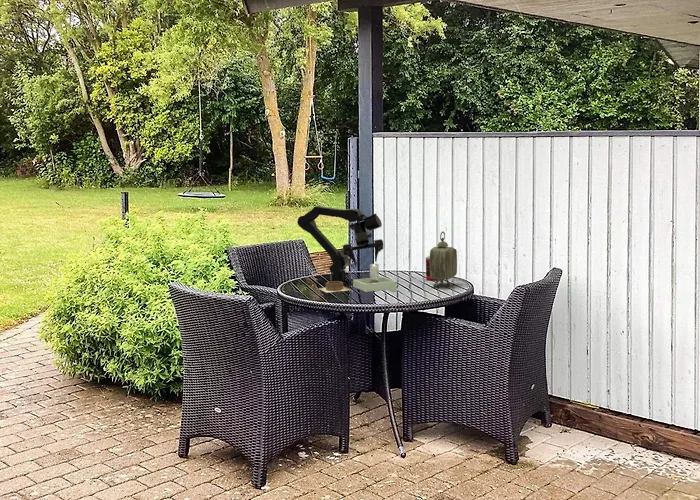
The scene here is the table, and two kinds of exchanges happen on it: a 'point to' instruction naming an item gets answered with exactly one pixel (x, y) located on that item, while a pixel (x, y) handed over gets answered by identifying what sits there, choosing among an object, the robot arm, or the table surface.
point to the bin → (375, 284)
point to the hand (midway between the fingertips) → (365, 263)
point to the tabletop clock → (443, 262)
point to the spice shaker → (374, 273)
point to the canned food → (428, 269)
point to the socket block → (334, 287)
